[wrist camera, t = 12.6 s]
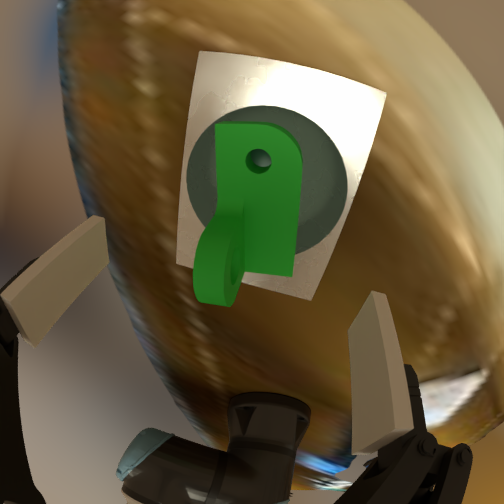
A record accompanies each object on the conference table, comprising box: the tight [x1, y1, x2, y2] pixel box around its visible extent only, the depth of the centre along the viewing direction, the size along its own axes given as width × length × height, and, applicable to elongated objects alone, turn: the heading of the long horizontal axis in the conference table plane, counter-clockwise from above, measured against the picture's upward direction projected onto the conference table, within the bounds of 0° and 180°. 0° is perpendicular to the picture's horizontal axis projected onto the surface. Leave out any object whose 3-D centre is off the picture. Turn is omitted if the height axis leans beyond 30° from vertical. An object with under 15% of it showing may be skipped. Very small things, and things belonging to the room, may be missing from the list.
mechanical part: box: [193, 121, 303, 307], centre depth 18 cm, size 12×6×8 cm, turn 0°
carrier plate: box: [176, 51, 387, 301], centre depth 21 cm, size 20×14×1 cm
